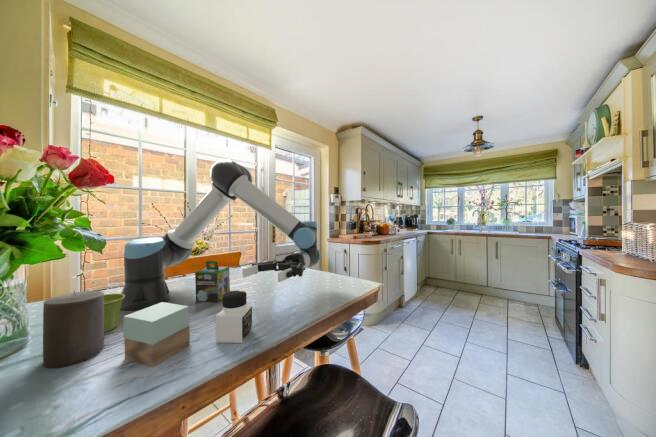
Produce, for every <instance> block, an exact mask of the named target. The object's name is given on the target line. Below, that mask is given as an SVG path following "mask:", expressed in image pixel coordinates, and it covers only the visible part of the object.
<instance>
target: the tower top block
mask: <svg viewBox="0 0 656 437" xmlns="http://www.w3.org/2000/svg"><path fill="white" fill-rule="evenodd" d="M189 308H190V306H189V305H183V304H177V303H171V302H161V303H158V304H156V305H153V306H150V307H147V308H144V309H138V310H136V311H135V312H132V313H128V314H126V315H123V338H124V339H125V338H126V339H130V340H135V341H139V342H143V343H147V344H151V345H154V344H155V343H157V342H159V341H161V340H163V339H165V338H167V337H169V336H171V335H173V334H175V333H176V332H178V331H180V330H182V329H184V328H186V327H188V326H190V309H189Z"/></svg>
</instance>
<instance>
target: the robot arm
mask: <svg viewBox="0 0 656 437" xmlns="http://www.w3.org/2000/svg"><path fill="white" fill-rule="evenodd" d="M209 176H210V180H211V188H210V190H209V191H208V192H207V193H206V194H205V195H204V196H203V198H201V200H200V201H199V202H198V203H197V204H196V205H195V207H193V208H192V210H191V211H190V212H189V213H188V215H186V217H185V218H184V219H183V220H182V221H181V223H179V225H178V226H177V227H176V228H175V229H170V230H168V231H167V232H166V234H164V236H163V237H158V236H157V237H155V236H154V237H145V238H138V239H133V240H130V241H128V242H126V244H125V245H124V252H123V262H124V264H123V265H124V266H123V267H124V268H123V269H124V285H123V289H122V291H121V293H120V294H124V295H125V298H124V299H123V302H122V303H121V308H120V310H125V311H135V310H136V311H138V310H142V309H145V308H147V307H150V306H153V305H156V304H158V303H161V302H165V303H167V302H168V301H169V300H170V299H171V293H170V290H169V287H168V285H167V282H166V280H165V269H167V268H169V267H173V266H177V265H180V264H182V263H183V262H185V261H186V260H187V259H190V258H189V257H190V256H191V255H192V251H193V248H194V247H195V241H196V239H197V238H199V236H200V235H201V234H202V233H203V232H204V230H205V229H206V228H207V227H208V226H209V225H210V224H211V222H212V221H213V220H214V219H215V218H216V217H217V216H218V215H219V213H220V212H221V211H222V210H223V209H224V208H225V207H226V206H227V204H228V203H229V202H232V201H234V202H235V201H236V200H237V199H238V200H240V201H241V202H242V203H244V204H245V205H246V206H247V207H248V208H250V209H251V210H252V211H254V212H255V213H257V214H258V215H259V216H260V217H262V218H263V219H264V220H265V221H267V222H268V223H269V224H271V225H272V226H274V227H275V228H276V229H278V230H279V231H280V232H281V233H283V234H284V235H285V236H286V237H288V238H289V239H290V240H291V241H292V242H293V243H294V245H295V246H296V247H297V248H299V250H298V251H296V252H292V253H289V254H287V255H286V256H284V259H281V260H276V259H273V260H269V261H263V262H256V263H251V266H247V267H243V268H242V270H241V271H242V272H241V273H242V279H243V278H246V277H249V276H250V277H251V276H253V275H257V274H258V273H259V272H260V273H261V272H271V271H274V272H277V282H278V283H282V282H284V281H286V280H288V279H290V278H292V277H297V276H298V277H303V275H304V274H303V273H304V271H305V270H306V269H308V268H310V267H311V268H312V267H313V266H315V265H317V264H318V263H319V262H320V261H321V258H322V254H321V251H320V250H319V249H318V227H317V222H316V221H314V220H311V221H309V220H307V221H305V220H304V221H301V220H300V219H298V218H297V217H296V216H294V214H292V212H289V211H288V210H287V209H286V208H284V207H283V206H282V205H281V204H279V203H278V202H277V201H276V200H274V199H273V198H271V196H269V195H268V194H266V193H265V192H264V191H263V190H262V189H261V188H259V187H257V186H256V185H255V184H254V183H253V177H252V173H251V172H250V171H249V170H248V169H247V168H246V167H245V166H243V165H241V164H239V163H237V162H236V161H234V160H231V159H227V158H225V159H220V160H217V161H215V163H213V165H212V166H211V168H210V171H209Z"/></svg>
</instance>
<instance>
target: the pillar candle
mask: <svg viewBox="0 0 656 437" xmlns="http://www.w3.org/2000/svg"><path fill="white" fill-rule="evenodd" d="M104 295H105V291H100V290H84V291H83V290H82V291H75V290H74V291H73V292H69V293H66V294H60V295H56V296H53V297H50V298H48V299H46V300H44V301H43V310H42V311H43V313H42V318H43V319H42V322H43V323H42V360H43V361H42V362H43V363H42V366H43V367H44V368H48V369H49V368H52V369H55V368H57V369H58V368H59V369H60V368H64V367H65V368H66V367H68V366H72V365H76V364H79V363H82V362H84V361H87V360H89V359H91V358H93V357H95V356H97V355H98V354H100V353H101V352H102V351H103V349H104V348H105V343H104V342H105V340H104V339H105V336H104V335H105V334H104V333H105V332H104Z"/></svg>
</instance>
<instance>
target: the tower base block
mask: <svg viewBox="0 0 656 437" xmlns="http://www.w3.org/2000/svg"><path fill="white" fill-rule="evenodd" d="M190 328H191V327H190V325H189V326H188V327H186V328H184V329H182V330H180V331H178V332H176V333H175V334H173V335H171V336H169V337H167V338H165V339H163V340H161V341H159V342H157V343H155V344H154V345H151V344H147V343H143V342H139V341H135V340H130V339H126V338H124V359H125V360H127V361H131V362H134V363H138V364H141V365H145V366H149V367H152V368H155V367H157V366H158V365H159V364H162V363H163V362H164V361H166V360H168V359H169V358H171V357H172V356H175V355H176V354H178V353H179V352H180V351H182V350H184V349H186V348H188V347H189V346H190V345H191V344H190V343H191V340H190V339H191V338H190V335H191V334H190V332H191V329H190Z"/></svg>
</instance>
